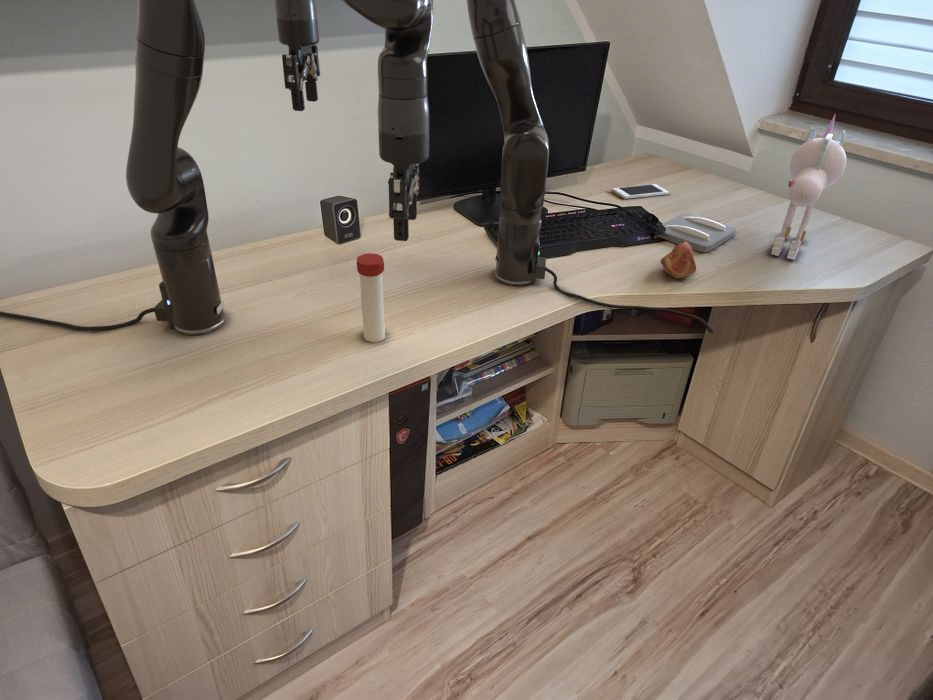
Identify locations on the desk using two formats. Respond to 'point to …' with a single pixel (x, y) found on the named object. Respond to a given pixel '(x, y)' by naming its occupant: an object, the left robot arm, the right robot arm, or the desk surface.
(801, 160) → the toy
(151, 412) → the desk surface
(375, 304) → the jar
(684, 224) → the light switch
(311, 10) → the right robot arm
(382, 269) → the lid
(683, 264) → the fossil
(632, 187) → the smartphone
